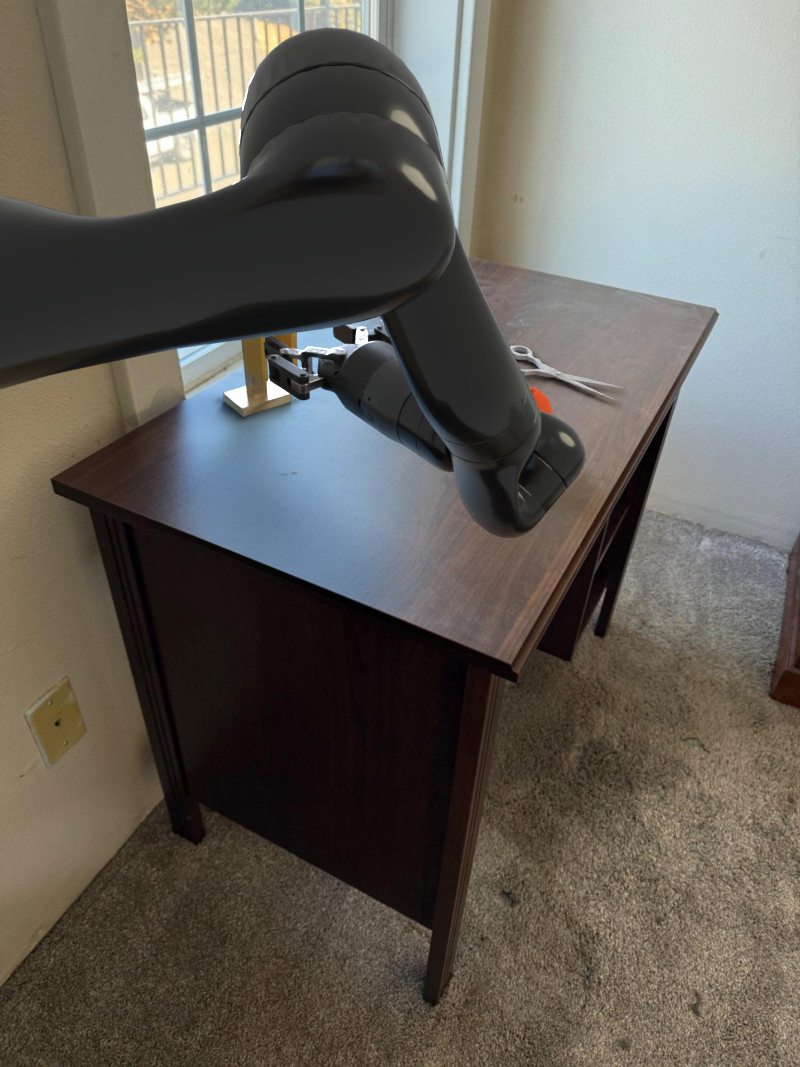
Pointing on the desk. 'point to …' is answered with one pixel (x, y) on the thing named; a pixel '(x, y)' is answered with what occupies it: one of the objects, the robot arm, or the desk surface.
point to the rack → (255, 394)
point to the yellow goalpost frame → (256, 357)
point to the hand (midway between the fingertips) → (302, 335)
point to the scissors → (552, 370)
